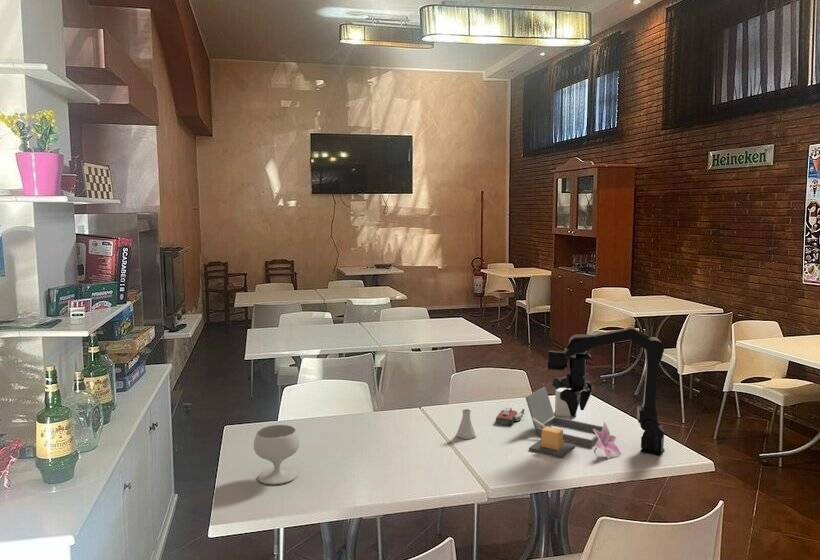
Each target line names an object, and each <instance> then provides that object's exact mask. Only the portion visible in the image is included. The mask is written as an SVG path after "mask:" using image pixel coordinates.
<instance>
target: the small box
mask: <svg viewBox="0 0 820 560" xmlns="http://www.w3.org/2000/svg"><path fill="white" fill-rule="evenodd" d="M565 389H568V388H566V387H562V388H559V389H554V390H555V392H554V393H555V395H554V396H555V397H554V398H555V399H554V401H555V403H554V409H555V410H554V412H555V413H554V414H555V415H556V417H571V415H570V411H569V408H568V405H567V403H566V402H565V401H563V400H562V399H560V393H561V392H562V391H563V390H565ZM569 389H570V388H569ZM575 417H577V414H576V415H575Z"/></svg>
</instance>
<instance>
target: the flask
mask: <svg viewBox="0 0 820 560" xmlns="http://www.w3.org/2000/svg"><path fill="white" fill-rule="evenodd" d="M461 412H462V418H461V421H460V424H459V426H458V429H457V432H456V436H457V438H459V439H462V440H471V439H474V438H476V437H477V436H476V432H475V429H474V426H473V424H472V419H471V412H472V410H471V409H469V408H463V409H461Z"/></svg>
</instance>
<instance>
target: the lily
mask: <svg viewBox="0 0 820 560" xmlns="http://www.w3.org/2000/svg"><path fill="white" fill-rule="evenodd" d="M602 427H603V428H602V431H601V432H600V431H598V430H596V429H593V430H594V432H593V433H594V434H595V436H596V435H597V437H598V441H597V443H596V445H594V447H595V449H594V452H596V450H597V449H601V450H604V453H605V455H606V456H605V457H606V458H607V460H608V459H609V460H610V459H611V458H610V457H611V453H613V454H616V455H618V456H620V455H621V456H622V453H621V451H620V449H619V447H618V446H617V445H616V444H615V442H616V441H617V436H616V435H611V433H610V430H609V427H608V425H607V424H606V422H603V424H602ZM621 456H620V457H621Z"/></svg>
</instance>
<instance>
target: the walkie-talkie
mask: <svg viewBox="0 0 820 560" xmlns="http://www.w3.org/2000/svg"><path fill="white" fill-rule="evenodd" d="M524 412H525V408H524V409H523V408H522V410H521V411H520V412H518V411H517V410H513V409H512V408H511V407H505V408H504V409H502V410H500V412H499V413H498V414H497V416H496V417H495V424H496V425H500V424H502V425H501V426H508V425H512V426H513V425H514V423H515V422H514V421H518V422H520V421H521V420H522V419H523V418H524V417H523V415H524ZM522 417H523V418H522ZM521 418H522V419H521ZM519 420H520V421H519Z"/></svg>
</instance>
